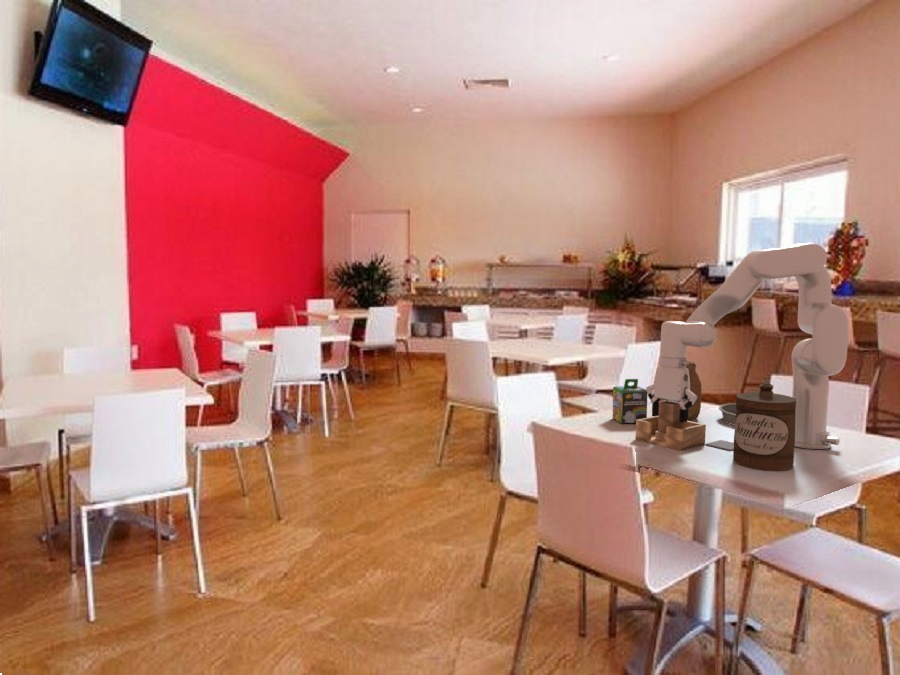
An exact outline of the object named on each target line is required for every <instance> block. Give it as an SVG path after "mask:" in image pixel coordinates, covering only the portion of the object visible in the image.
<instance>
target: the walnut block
mask: <svg viewBox="0 0 900 675" xmlns="http://www.w3.org/2000/svg"><path fill="white" fill-rule="evenodd" d="M680 409H682V408H681V406H680V404H679V403H678V402H674V401H666V400H663V401H659V418H658V432H662V433H666V427H668V426H669V427H674V428H678V429H682V427H683V423H680V422H679V415H680Z"/></svg>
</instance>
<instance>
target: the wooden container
mask: <svg viewBox="0 0 900 675" xmlns="http://www.w3.org/2000/svg"><path fill="white" fill-rule="evenodd" d="M758 388H759V391H758V392H742V393H738V394H736V396H735V397H736V398H735V403H736V420H735V425H734V433H733V434H734V435H733V443H734V450H732V451H733V454H732V459H733V462H734V463H736V464H738V465H740V466H743V467H745V468H750V469H753V470H754V469H755V470H759V471H769V472H770V471H771V472H773V471H774V472H775V471H776V472H779V471H787V470H790V469H792V468H794V461H795V460H794V458H795V448H796V447H795V410H796V399H795V398H793V397H792V396H790V395H785V394H781V393H780V394H779V393H774V391H773V390H774V385H773V384H771V383H770V382H762V383H760V384H759V386H758Z"/></svg>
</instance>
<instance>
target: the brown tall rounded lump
mask: <svg viewBox="0 0 900 675" xmlns="http://www.w3.org/2000/svg"><path fill="white" fill-rule="evenodd" d="M688 361H689V360H688ZM686 368H688V371H689V378H690V391H691V392H693V393H694V394H695V395H696V396H697V399H696V401H695V402H694V405H693V406H691V408H690V409H689V412H688V420H687V421H690V420H696V419H697V418H699V416H700V413H701V407H702V382H701V380H700V377H699V375H698V373H697V370H696V368H697V365H696V363H695V361H689V365H686ZM689 400H690V399H689ZM689 400H687V401H689ZM665 401H669V400H665Z"/></svg>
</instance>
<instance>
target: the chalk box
mask: <svg viewBox="0 0 900 675" xmlns="http://www.w3.org/2000/svg"><path fill="white" fill-rule="evenodd" d="M638 382H639V379H638V378H626V379H625V380H624V384H623V385H621V386H619V385H618V386H613V387H612V419H613V418H614V420H615V419H616V420H615V421H616V422H618V421H619V422H618V423H619V424H621V423H636V420H638V419H643V418H648V393H647V390H646V388H643V387H641V386H639V385H638ZM629 383H633V384H632V385H629Z"/></svg>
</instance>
